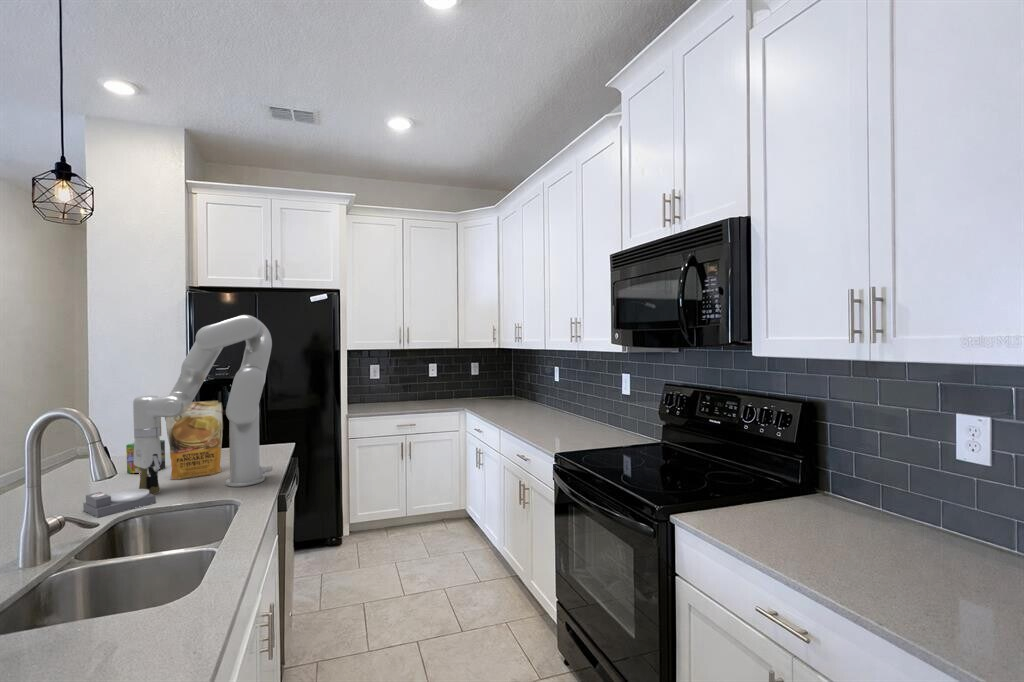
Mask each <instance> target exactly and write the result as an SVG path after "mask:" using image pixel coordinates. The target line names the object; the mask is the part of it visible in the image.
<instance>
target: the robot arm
mask: <svg viewBox="0 0 1024 682" xmlns="http://www.w3.org/2000/svg"><path fill="white" fill-rule="evenodd" d="M243 341H245V348H244V351H243V358H242V362H241V364H240V367H239V369H238V371H237V372H236V373H235V375H234V378H233V381H232V385H231V389H230V393H229V396H228V400H227V404H226V408H225V415H226V417H227V419H228V421H229V422H228V423H229V425H228V426H229V428H228V430H229V431H228V432H229V435H228V439H229V440H228V441H229V443H228V444H229V475H230V476H229V478H227V479H226V480H224V481H225V483H224V484H225V486H227V487H233V488H235V487H237V488H238V487H247V486H253V485H256V484H259V483H262V482H264V481H265V479H266V477H265V475H264V474H265V473H269V472H273V470H274V468H273V465H269V466H260V464H261V463H260V462H261V459H260V402H261V401H260V400H261V397H262V394H263V389H264V386H265V384H266V377H267V371H268V366H269V362H270V357H271V353H272V348H273V340H272V335H271V332H270V330H269V329H268V328H267V326H266V325H265V324H264V323H263V322H262V321H261V320H260V319H258V318H257V317H254V316H253V315H249V314H240V315H238V316H235V317H231V318H228V319H224V320H221V321H220V322H219V321H218V322H216V323H212V324H208V325H205V326H203V327H201V328H200V329H198V331H197V332H196V335H195V341H194V344H193V345H192V346H191V347H190V348H191V349H190V350H189V351H188V353H187V355H186V357H185V358H184V359H183V362H182V363H181V369H180V373H179V377H178V378H177V381H176V383H175V384H174V387H173V388H172V390H171V392H170V393H169V394H168V395H164V396H157V395H143V396H142V395H140V396H138V397H135V398H134V399H133V401H132V403H133V404H132V407H133V413H132V414H133V438H134V442H133V443H134V465H135V466H137V467H141V468H144V469H147V476H148V477H146V488H147V489H150V488H151V487H158V483H159V477H158V476H159V471H160V470H159V469H160V465H161V461H162V455H161V443H160V440H161V437H162V418H165V417H176V416H179V415H180V414H182V413H183V412H184V411H186V410H187V409H188V408H189V406H190V404H191V403H192V402H194V399H195V397H196V396H197V394H198V392H199V391H200V389H201V387H202V385H203V383H204V381H205V380H206V379H207V376H208V374H209V373H210V371H211V369H212V368H213V366H214V364H215V362H216V360H217V359H218V357H219V355H220V354H221V352H222V350H223V349H224V348H225V347H228V346H231V345H234V344H238V343H240V342H241V343H242V342H243ZM151 465H153V467H150V466H151ZM150 469H152V470H151V472H150ZM140 477H141V471H140V474H139V478H140Z"/></svg>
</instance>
